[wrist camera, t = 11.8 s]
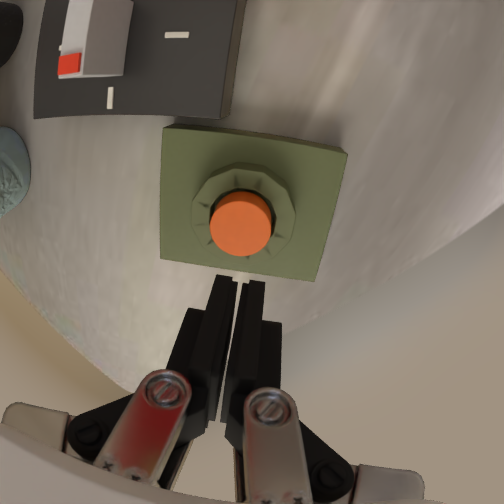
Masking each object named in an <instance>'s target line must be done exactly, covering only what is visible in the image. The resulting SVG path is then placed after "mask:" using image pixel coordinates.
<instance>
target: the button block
mask: <svg viewBox="0 0 504 504" xmlns="http://www.w3.org/2000/svg"><path fill="white" fill-rule="evenodd" d="M347 156H348V154H347V153H346V152H345V151H344V150H343V149H341V148H339V147H335V146H330V145H325V144H321V143H316V142H311V141H305V140H300V139H294V138H289V137H283V136H277V135H271V134H264V133H257V132H250V131H242V130H234V129H226V128H217V127H207V126H195V125H182V124H172V125H169V126H167V127H164V128H163V135H162V152H161V177H160V259H166V260H172V261H178V262H184V263H190V264H196V265H203V266H209V267H216V268H222V269H228V270H235V271H242V272H248V273H255V274H262V275H269V276H275V277H282V278H289V279H296V280H303V281H311V282H314V281H315V278H316V274H317V271H318V268H319V264H320V261H321V257H322V254H323V250H324V247H325V243H326V240H327V236H328V232H329V229H330V225H331V221H332V218H333V214H334V210H335V206H336V202H337V198H338V194H339V190H340V186H341V182H342V178H343V174H344V169H345V165H346V161H347ZM238 191H245V192H250V193H253V194H255V195H257V196H259V197H260V198H262V199H263V200H264V201H265V202H266V204H267V205H268V207H269V209H270V212H271V235H270V238H269V241H268V242H267V244H266V245H265V247H264V248H262V249H261V250H260V251H258V252H257V253H255V254H252V255H248V256H235V255H231V254H228V253H226V252H225V251H223V250H222V249H220V248H219V247H218V246H217V245H216V243H215V242H214V240H213V239H212V236H211V233H210V221H211V218H212V215H213V213H214V211H215V209H216V207H217V205H218V203H219V202H220V201H221V199H223V198H224V197H225V196H227V195H228V194H231V193H233V192H238Z"/></svg>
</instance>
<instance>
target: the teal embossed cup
mask: <svg viewBox="0 0 504 504" xmlns="http://www.w3.org/2000/svg"><path fill="white" fill-rule="evenodd" d="M29 184H30V161H29V156H28V152H27V149H26V147H25V145H24V142H23V141H22V139H21V138H20V136H19V135H18V134H17V133H16V132H15V131H14V130H12V129H10V128H8V127H0V218H1V217H2V216H3V215H4V214H6V213H7V212H9V211H10V210H11V209H13V208H14V207H15V206H16V205H18V204H19V203H20V202H21V201H22V200H23V198H24V196H25V195H26V192H27V191H28V188H29Z"/></svg>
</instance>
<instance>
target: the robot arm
mask: <svg viewBox="0 0 504 504" xmlns="http://www.w3.org/2000/svg"><path fill="white" fill-rule="evenodd" d="M237 286H238V282H234V281H232V277H230V276H224V275H218V274H217V275H216V278H215V281H214V284H213V287H212V290H211V294H210V297H209V300H208V303H207V306H206V310H205V311H204V310H199V309H193V308H188V309H187V312H186V314H185V317H184V320H183V322H182V325H181V328H180V330H179V333H178V336H177V339H176V341H175V344H174V347H173V350H172V353H171V355H170V358H169V361H168V364H167V367H166V369H160V370H156V371H153V372H151V373H150V374H148V375H146V377H145V378H144V379H143V380H142V381H141V383H140V385H139V386H138V388H137V390H136V391H135V393H133V394H131V395H128V396H126V397H123V398H121V399H118V400H116V401H113V402H111V403H108V404H106V405H103V406H101V407H99V408H96V409H93V410H91V411H88V412H85V413H83V414H80V415H78V416H72V415H69V413H68V412H62V411H57V410H52V409H47V408H43V407H38V406H34V405H29V404H25V403H22V402H15V403H13V404H11V405H9V406H8V407H7V408H6V410H5V412H4V414H3V418H2V422H1V423H0V504H445V503H442V502H438V501H434V500H424V489H425V487H424V481H423V479H422V477H421V475H419V474H418V473H417V472H414V471H411V470H401V469H392V468H384V467H376V466H370V465H363V464H360V465H358V466H356V465H350V464H349V463H348V462H347V461H346V460H344V459H343V458H342V457H341V456H340V455H338V454H337V453H336V452H335V451H334V450H333V449H331V448H330V447H329V446H328V445H327V444H326V443H324V442H323V441H322V440H321V439H320V438H319V437H318V436H316V435H315V434H314V433H313V432H312V431H311V430H310V429H309V428H308V427H306V426H305V425H304V424H303V423H302V422H301V421H300V420H299V417H298V411H297V406H296V404H295V401H294V400H293V398H292V397H291V396H290V395H289V394H287V393H286V392H285V391H283V390H281V389H280V381H281V348H282V347H281V346H282V323H279V322H272V321H265V320H262V315H263V304H264V292H265V282H261V281H255V280H250V281H249V284H247V283H243V285H242V290H241V295H240V301H239V306H238V311H237V317H236V322H235V328H234V333H233V338H232V344H231V349H230V355H229V360H228V366H227V371H226V378H225V386H224V394H223V402H222V411H221V419H220V422H222V423H227V425H226V430H225V438H226V439H227V440H228V441H229V442H230V444H231V445H232V446H233V447H234V448H233V452H234V453H233V454H234V477H235V498H236V502H227V501H221V500H214V499H208V498H202V497H197V496H192V495H187V494H183V493H178V492H174V491H173V488H174V486H175V484H176V481H177V479H178V476H179V474H180V472H181V470H182V467H183V465H184V462H185V460H186V458H187V455H188V453H189V451H190V448H191V446H192V443H193V440H194V439H195V438H197V437H198V436H200V435H202V434H204V433H205V428H207V426H208V421H209V420H211V421H215V418H216V413H217V407H218V402H219V397H220V392H221V387H222V381H223V376H224V371H225V365H226V360H227V355H228V350H229V344H230V339H231V331H232V324H233V316H234V308H235V301H236V293H237Z"/></svg>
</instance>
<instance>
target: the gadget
mask: <svg viewBox="0 0 504 504" xmlns="http://www.w3.org/2000/svg"><path fill="white" fill-rule="evenodd" d="M69 1H70V0H46V3H45V7H44V12H43V18H42V23H41V29H40V35H39V42H38V50H37V59H36V70H35V84H34V119H41V118H52V117H65V116H82V115H164V116H182V117H196V118H208V119H218V120H219V119H221V118H223V117H225V116H227V115H229V114H230V108H231V100H232V93H233V86H234V78H235V71H236V65H237V58H238V51H239V45H240V38H241V32H242V26H243V19H244V13H245V7H246V2H247V0H131V1H133V2H134V4H133V9H132V15H131V20H130V26H129V33H128V39H127V46H126V54H125V63H124V72H123V75H122V76H109V77H84V78H65V79H59V78H58V77H59V75H58V64H59V56H61V47H62V40H63V33H64V27H65V21H66V15H67V10H68V5H69Z"/></svg>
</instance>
